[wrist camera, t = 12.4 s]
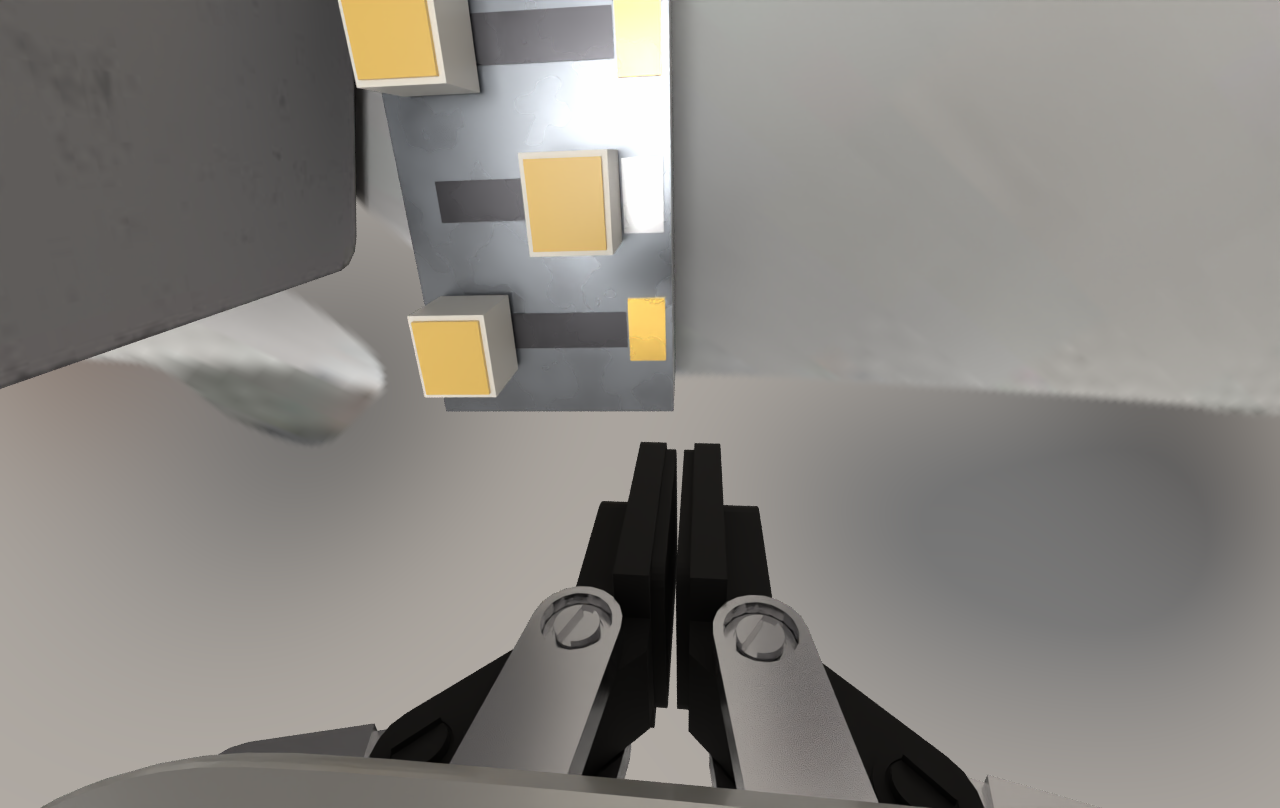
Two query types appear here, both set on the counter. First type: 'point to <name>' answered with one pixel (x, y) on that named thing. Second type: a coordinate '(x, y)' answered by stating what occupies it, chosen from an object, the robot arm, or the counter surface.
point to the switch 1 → (411, 46)
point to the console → (494, 210)
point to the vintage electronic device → (165, 166)
